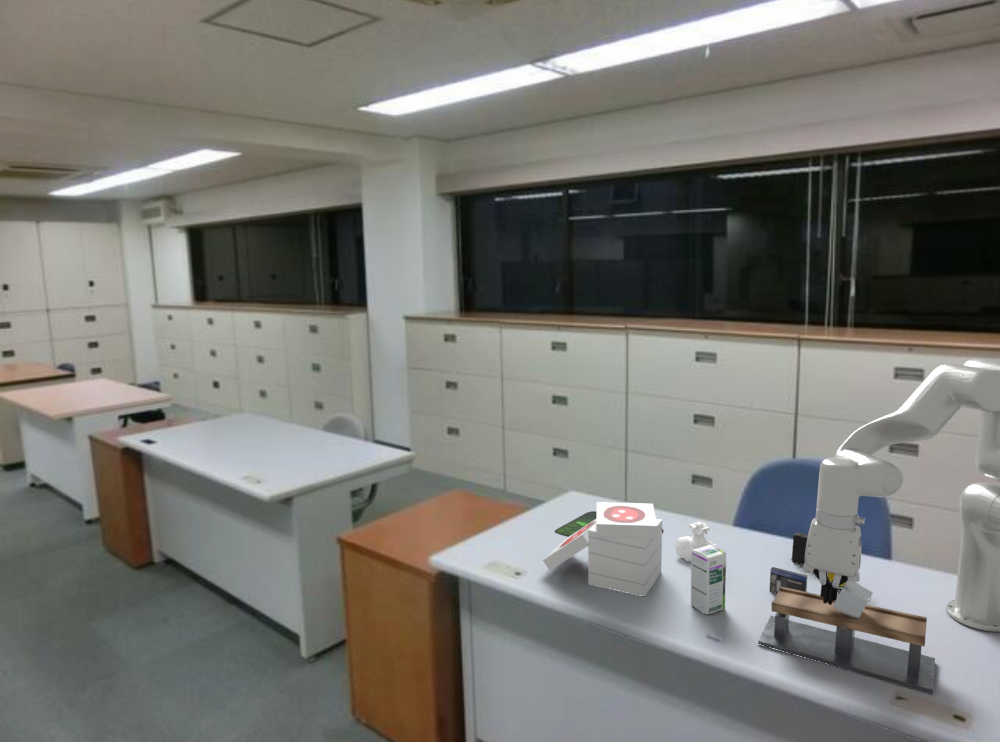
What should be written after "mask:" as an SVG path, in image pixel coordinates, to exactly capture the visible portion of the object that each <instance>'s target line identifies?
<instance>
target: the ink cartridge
mask: <svg viewBox="0 0 1000 742" xmlns="http://www.w3.org/2000/svg"><path fill="white" fill-rule="evenodd" d="M807 538H808V534H805V533H803V532H795V533H794V534H793V539H792V540H793V541H792V551H791V552H792V554H791V561H792V562H793V563H795V564H799V565H802V566H803V565H804V563H805V551H806V544H807Z"/></svg>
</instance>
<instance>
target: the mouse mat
mask: <svg viewBox="0 0 1000 742" xmlns="http://www.w3.org/2000/svg"><path fill="white" fill-rule="evenodd" d="M595 519H597V511H595V510H594V511H587V512H585V513H584V514H582V515H580V516H578V517H577V518H574V519H573V520H571V521H568V522H567V523H565V524H563V525H562V526H560V527H558V528H556V529H555V530H554V533H556V534H558V535H560V536H565V537H567V538H568V537H569V536H571V535H572V534H574V533H575V532H577V531H578V530H580V529H581V528H583V527H584V526H586V525H587V524H589V523H591V522H592V521H594V520H595ZM663 532H664V529H663V528H662V533H663Z"/></svg>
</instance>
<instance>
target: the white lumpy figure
mask: <svg viewBox="0 0 1000 742" xmlns="http://www.w3.org/2000/svg"><path fill="white" fill-rule="evenodd" d="M688 527H689V529H691V533H692V536H690V535H687V536H681V537H678V538H677V539H676V540H675V553H676V554H677V556H678V557H679V558H681V559H683V560H685V561H686V562H688V563H689V562H690V563H691V550H693V549H697V548H701V547H705V546H707V545H711V546H714V547H716V548H718V549H719V547H718V545H717V544H716V543H714V542H712V541H711V540H708V539H706V536H705V535H708V531H710V529H711V528H710V527H709V526H708V525H707V524H706V523H705V522H702V521H696V522H694V523H688Z"/></svg>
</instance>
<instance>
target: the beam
mask: <svg viewBox="0 0 1000 742" xmlns="http://www.w3.org/2000/svg"><path fill="white" fill-rule="evenodd" d="M820 595H821V594H817V593H812V592H808V591H806V592H804V591H799V590H795V589H790V588H785V587H779V591H778V593H776V595H775V597H774V599H773V600H771V612H773V613H777V612H778V613H782V614H786V615H789V616H792V617H794V618H795V617H796V618H800V619H803V620H804V619H805V620H809V621H813V622H816V623H817V622H818V623H822V624H827V625H830V626H834V627H837V626H838V627H840V629H841V631H843V632H846V631H847V629H851V630H855V632H856V631H857V632H861V633H865V634H868V635H872V636H873V635H874V636H878V637H882V638H885V639H890V640H894V641H895V640H896V641H899V642H902V643H908V644H910V643H911V644H916V645H920V646H922V647H924V648H925V645H926V637H927V636H926V633H927V621H928V620H927V619H928V618H927V617H926V616H921V615H918V614H911V613H907V612H902V611H899V610H893V609H888V608H884V607H879V606H875V605H869V604H867V605H866V607H865V608H864V610H863V612H862V614H861V615H860V617H859V619H858V620H856V619H852V618H850V617H849V616H847V615H845V614H844V613H842V612H840V611H839V610H837V609H836V608H834V607H832V606H833V604H834V603H835V601H836V600H833V602H832V605H829V604H828V602H827V603H826V604H825V603H823V597H821V596H820Z"/></svg>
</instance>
